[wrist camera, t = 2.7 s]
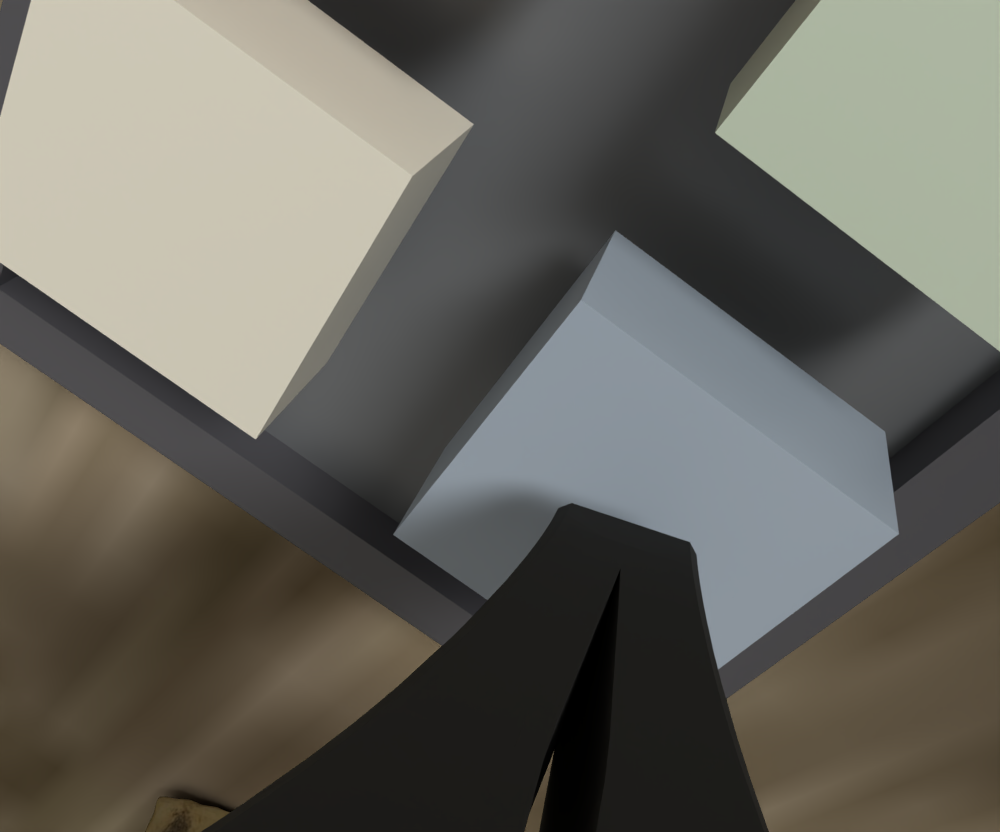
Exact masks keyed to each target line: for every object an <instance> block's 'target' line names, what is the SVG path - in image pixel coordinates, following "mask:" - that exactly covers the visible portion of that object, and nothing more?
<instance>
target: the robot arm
mask: <svg viewBox="0 0 1000 832" xmlns="http://www.w3.org/2000/svg"><path fill="white" fill-rule="evenodd" d="M554 749H555V750H554ZM553 752H554V755H553V760H552V766H551V771H550V776H549V782H548V787H547V793H546V798H545V803H544V809H543V814H542V820H541V825H540V831H539V832H769V831H768V828H767V826H766V823H765V820H764V817H763V814H762V811H761V808H760V806H759V803H758V800H757V797H756V794H755V791H754V788H753V785H752V783H751V780H750V777H749V774H748V771H747V768H746V764H745V761H744V758H743V755H742V752H741V749H740V745H739V742H738V739H737V736H736V732H735V729H734V725H733V722H732V718H731V714H730V711H729V707H728V704H727V700H726V697H725V693H724V690H723V686H722V683H721V679H720V675H719V671H718V667H717V663H716V659H715V655H714V651H713V646H712V642H711V637H710V633H709V628H708V624H707V619H706V614H705V609H704V603H703V598H702V592H701V586H700V579H699V572H698V564H697V554H696V552H695V551H694V549H693V547H692V545H691V543H690V542H688V541H685V540H682V539H679V538H676V537H673V536H670V535H667V534H664V533H661V532H658V531H655V530H652V529H649V528H646V527H643V526H640V525H637V524H634V523H631V522H628V521H625V520H622V519H619V518H616V517H613V516H610V515H607V514H604V513H601V512H598V511H595V510H592V509H589V508H586V507H583V506H580V505H577V504H574V503H570V504H567V505H565V506H562V507H559V508H558V509H557V511H556V513H555V515H554V517H553V519H552V521H551V522H550V524H549V525H548V527H547V528H546V530H545V531H544V533H543V534H542V536H541V537H540V539H539V540H538V541H537V543H536V544H535V545H534V547H533V548H532V549H531V551H530V552H529V553H528V555H527V556H526V557H525V558H524V559H523V561H522V562H521V563H520V564H519V565H518V567H517V568H516V569H515V570H514V571H513V573H512V574H511V575H510V576H509V577H508V579H507V580H506V581H505V582H504V583H503V584H502V585H501V586H500V587H499V588H498V589H497V591H496V592H495V593H494V594H493V595H492V596H491V597H490V598H489V599H488V600H487V601H486V602H485V603H484V604H483V605H482V606H481V608H480V609H479V610H478V611H477V612H476V613H475V614H474V615H473V616H472V617H471V618H470V619H469V620H468V621H467V622H466V623H465V624H464V625H463V626H462V627H461V628H460V629H459V630H458V631H457V632H456V633H455V634H454V635H453V636H452V637H451V638H450V639H449V640H448V641H447V642H446V643H445V644H444V645H442V646H441V647H440V648H439V649H438V650H437V651H436V652H435V653H434V654H433V655H432V656H431V657H429V658H428V659H427V660H426V661H425V662H424V663H423V664H422V665H421V666H420V667H419V668H417V669H416V670H415V671H414V672H413V673H412V674H411V675H410V676H409V677H408V678H407V679H406V680H404V681H403V682H402V683H401V684H400V685H399V686H398V687H397V688H395V689H394V690H393V691H392V692H391V693H389V694H388V695H387V696H386V697H385V698H384V699H382V700H381V701H380V702H379V703H378V704H376V705H375V706H374V707H373V708H372V709H370V710H369V711H368V712H367V713H365V714H364V715H363V716H362V717H361V718H359V719H358V720H357V721H356V722H354V723H353V724H352V725H351V726H349V727H348V728H347V729H345V730H344V731H343V732H341V733H340V734H339V735H338V736H336V737H335V738H334V739H332V740H331V741H330V742H329V743H327V744H326V745H325V746H323V747H322V748H321V749H319V750H318V751H317V752H315V753H314V754H313V755H311V756H310V757H309V758H307V759H306V760H305V761H303V762H302V763H300V764H299V765H298V766H296V767H295V768H293V769H292V770H290V771H289V772H288V773H286V774H285V775H283V776H282V777H281V778H279V779H278V780H276V781H275V782H273V783H272V784H271V785H269V786H268V787H266V788H265V789H263V790H262V791H261V792H259V793H258V794H256V795H255V796H254V797H252V798H251V799H249V800H248V801H246V802H245V803H244V804H242V805H241V806H239V807H238V808H236V809H235V810H233V811H232V812H230V813H229V814H227V815H226V816H224V817H223V818H221V819H220V820H218V821H217V822H215V823H213V824H212V825H210V826H209V827H207V828H206V829H204V830H203V831H201V832H524V830H525V827H526V823H527V819H528V816H529V813H530V810H531V808H532V805H533V803H534V800H535V798H536V795H537V793H538V790H539V787H540V785H541V782H542V780H543V777H544V775H545V772H546V770H547V767H548V765H549V762H550V759H551V757H552V754H553Z"/></svg>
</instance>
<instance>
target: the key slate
mask: <svg viewBox="0 0 1000 832" xmlns="http://www.w3.org/2000/svg"><path fill="white" fill-rule="evenodd" d="M570 503H574V504H577V505H580V506H583V507H586V508H589V509H592V510H595V511H598V512H601V513H604V514H607V515H610V516H613V517H616V518H619V519H622V520H625V521H628V522H631V523H634V524H637V525H640V526H643V527H646V528H649V529H652V530H655V531H658V532H661V533H664V534H667V535H670V536H673V537H676V538H679V539H682V540H685V541H688V542H690V543H691V545H692V547H693V549H694V551H695V552H696V554H697V564H698V572H699V579H700V586H701V592H702V598H703V603H704V609H705V614H706V619H707V624H708V628H709V633H710V637H711V642H712V646H713V651H714V655H715V659H716V663H717V667H718V669H719V668H721V667H722V666H723V665H725V664H726V663H727V662H729V661H730V660H731V659H733V658H734V657H735V656H737V655H738V654H739V653H741V652H742V651H743V650H745V649H746V648H747V647H749V646H750V645H751V644H753V643H754V642H755V641H757V640H758V639H759V638H761V637H762V636H763V635H765V634H766V633H767V632H769V631H770V630H771V629H773V628H774V627H775V626H777V625H778V624H779V623H781V622H782V621H783V620H785V619H786V618H787V617H789V616H790V615H791V614H793V613H794V612H795V611H797V610H798V609H799V608H801V607H802V606H803V605H805V604H806V603H807V602H809V601H810V600H812V599H813V598H814V597H816V596H817V595H818V594H820V593H821V592H822V591H824V590H825V589H826V588H828V587H829V586H830V585H832V584H833V583H834V582H836V581H837V580H838V579H840V578H841V577H842V576H844V575H845V574H846V573H848V572H849V571H850V570H852V569H853V568H854V567H856V566H857V565H858V564H860V563H861V562H862V561H864V560H865V559H866V558H868V557H869V556H870V555H872V554H873V553H874V552H876V551H877V550H878V549H880V548H881V547H882V546H884V545H885V544H886V543H888V542H889V541H890V540H892V539H893V538H894V537H896V536H897V535H898V534H899V531H898V523H897V516H896V508H895V501H894V493H893V486H892V479H891V471H890V464H889V456H888V449H887V441H886V434H885V431H884V430H882V429H881V428H880V427H878V426H877V425H876V424H874V423H873V422H872V421H870V420H869V419H868V418H866V417H865V416H864V415H862V414H861V413H860V412H858V411H857V410H856V409H854V408H853V407H852V406H850V405H849V404H847V403H846V402H845V401H843V400H842V399H841V398H839V397H838V396H837V395H835V394H834V393H833V392H831V391H830V390H829V389H827V388H826V387H825V386H823V385H822V384H821V383H819V382H818V381H817V380H815V379H814V378H813V377H811V376H810V375H809V374H807V373H806V372H805V371H803V370H802V369H801V368H799V367H798V366H797V365H795V364H794V363H793V362H791V361H790V360H789V359H787V358H786V357H785V356H783V355H782V354H781V353H779V352H778V351H777V350H775V349H774V348H773V347H771V346H770V345H769V344H767V343H766V342H765V341H763V340H762V339H761V338H759V337H758V336H756V335H755V334H754V333H752V332H751V331H750V330H748V329H747V328H746V327H744V326H743V325H742V324H740V323H739V322H738V321H736V320H735V319H734V318H732V317H731V316H730V315H728V314H727V313H726V312H724V311H723V310H722V309H720V308H719V307H718V306H716V305H715V304H714V303H712V302H711V301H710V300H708V299H707V298H706V297H704V296H703V295H702V294H700V293H699V292H698V291H696V290H695V289H694V288H692V287H691V286H690V285H688V284H687V283H686V282H684V281H683V280H682V279H680V278H679V277H678V276H676V275H675V274H674V273H672V272H671V271H670V270H668V269H667V268H665V267H664V266H663V265H661V264H660V263H659V262H657V261H656V260H655V259H653V258H652V257H651V256H649V255H648V254H647V253H645V252H644V251H643V250H641V249H640V248H639V247H637V246H636V245H635V244H633V243H632V242H631V241H629V240H628V239H627V238H625V237H624V236H623V235H621V234H620V233H619V232H617V231H616V230H615V231H614V233H613V234H612V235H611V237H610V238H609V239H608V240H607V242H606V243H605V244H604V246H603V247H602V248H601V249H600V251H599V252H598V253H597V254H596V256H595V257H594V258H593V260H592V261H591V262H590V263H589V265H588V266H587V267H586V269H585V270H584V271H583V272H582V274H581V275H580V276H579V277H578V279H577V280H576V281H575V283H574V284H573V285H572V286H571V288H570V289H569V290H568V292H567V293H566V294H565V295H564V297H563V298H562V299H561V300H560V302H559V303H558V304H557V306H556V307H555V308H554V309H553V311H552V312H551V313H550V314H549V316H548V317H547V318H546V320H545V321H544V322H543V323H542V325H541V326H540V327H539V329H538V330H537V331H536V332H535V334H534V335H533V336H532V337H531V339H530V340H529V341H528V343H527V344H526V345H525V346H524V348H523V349H522V350H521V352H520V353H519V354H518V355H517V357H516V358H515V359H514V360H513V362H512V363H511V364H510V366H509V367H508V368H507V369H506V371H505V372H504V373H503V374H502V376H501V377H500V378H499V380H498V381H497V382H496V383H495V385H494V386H493V387H492V389H491V390H490V391H489V392H488V394H487V395H486V396H485V397H484V399H483V400H482V401H481V403H480V404H479V405H478V406H477V408H476V409H475V410H474V412H473V413H472V414H471V415H470V417H469V418H468V419H467V420H466V422H465V423H464V424H463V426H462V427H461V428H460V429H459V431H458V432H457V433H456V434H455V436H454V437H453V438H452V440H451V441H450V442H449V443H448V445H447V446H446V447H445V449H444V451H443V452H442V454H441V456H440V457H439V459H438V461H437V462H436V464H435V466H434V467H433V469H432V471H431V472H430V474H429V476H428V477H427V479H426V481H425V482H424V484H423V486H422V487H421V489H420V491H419V492H418V494H417V496H416V497H415V499H414V501H413V502H412V504H411V506H410V507H409V509H408V511H407V512H406V514H405V516H404V517H403V519H402V521H401V522H400V524H399V526H398V527H397V529H396V531H395V532H394V534H393V535H394V536H396V537H397V538H399V539H400V540H402V541H403V542H404V543H406V544H407V545H409V546H410V547H412V548H413V549H414V550H416V551H417V552H419V553H420V554H422V555H423V556H425V557H426V558H427V559H429V560H430V561H432V562H433V563H435V564H436V565H438V566H439V567H440V568H442V569H443V570H445V571H446V572H448V573H449V574H451V575H452V576H453V577H455V578H456V579H458V580H459V581H461V582H462V583H464V584H465V585H466V586H468V587H469V588H471V589H472V590H474V591H475V592H477V593H478V594H479V595H481V596H482V597H484V598H485V599H487V600H488V599H489V598H490V597H491V596H492V595H493V594H494V593H495V592H496V591H497V589H498V588H499V587H500V586H501V585H502V584H503V583H504V582H505V581H506V580H507V579H508V577H509V576H510V575H511V574H512V573H513V571H514V570H515V569H516V568H517V567H518V565H519V564H520V563H521V562H522V561H523V559H524V558H525V557H526V556H527V555H528V553H529V552H530V551H531V549H532V548H533V547H534V545H535V544H536V543H537V541H538V540H539V539H540V537H541V536H542V534H543V533H544V531H545V530H546V528H547V527H548V525H549V524H550V522H551V521H552V519H553V517H554V515H555V513H556V511H557V509H558V508H559V507H562V506H565V505H567V504H570Z"/></svg>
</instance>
